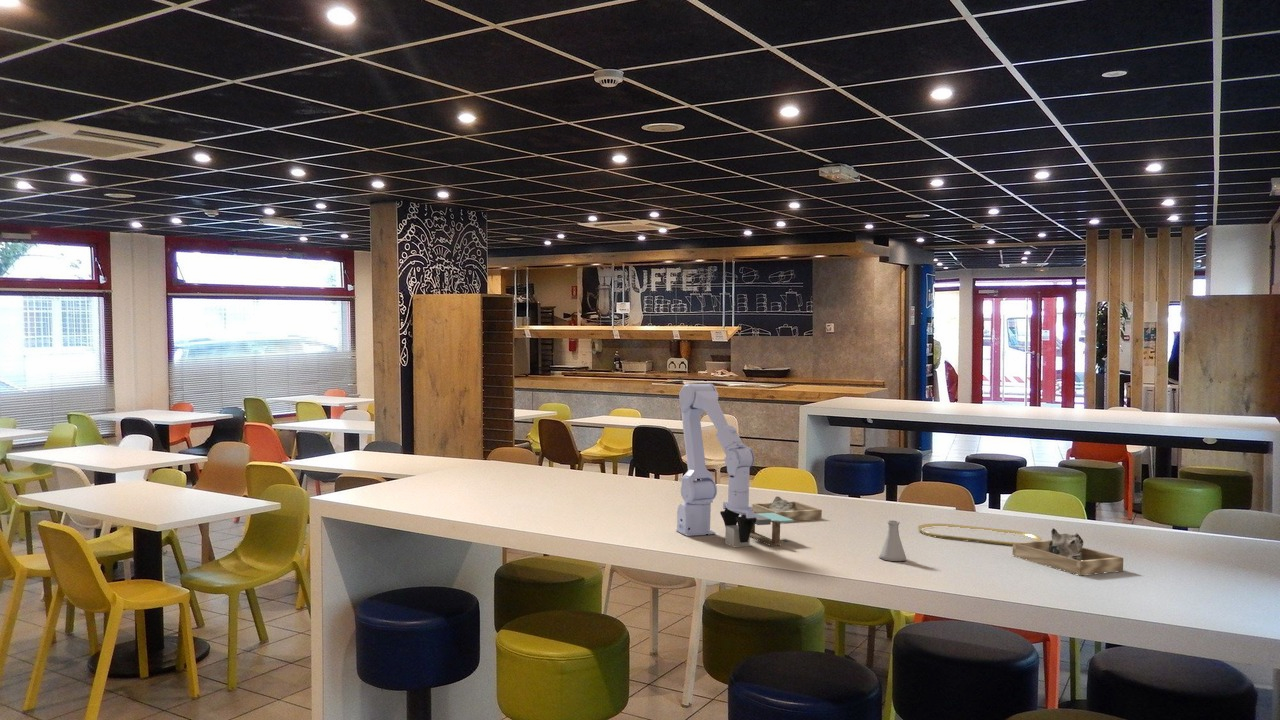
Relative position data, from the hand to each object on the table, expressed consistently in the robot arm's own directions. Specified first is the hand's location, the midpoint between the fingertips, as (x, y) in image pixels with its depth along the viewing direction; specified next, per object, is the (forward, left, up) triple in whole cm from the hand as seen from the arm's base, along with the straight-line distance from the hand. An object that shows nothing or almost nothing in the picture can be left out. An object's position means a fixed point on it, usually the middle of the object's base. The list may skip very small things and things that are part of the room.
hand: (737, 539), depth 249 cm
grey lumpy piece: (+74, -45, -1) cm, 87 cm away
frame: (+10, +3, -1) cm, 11 cm away
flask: (+32, -27, -2) cm, 42 cm away
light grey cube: (0, 0, +1) cm, 1 cm away
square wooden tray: (+36, +33, -1) cm, 49 cm away
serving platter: (+76, -11, -2) cm, 77 cm away
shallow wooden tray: (+74, -45, -1) cm, 87 cm away
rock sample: (+34, +33, -2) cm, 47 cm away
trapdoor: (+11, +3, +4) cm, 12 cm away
